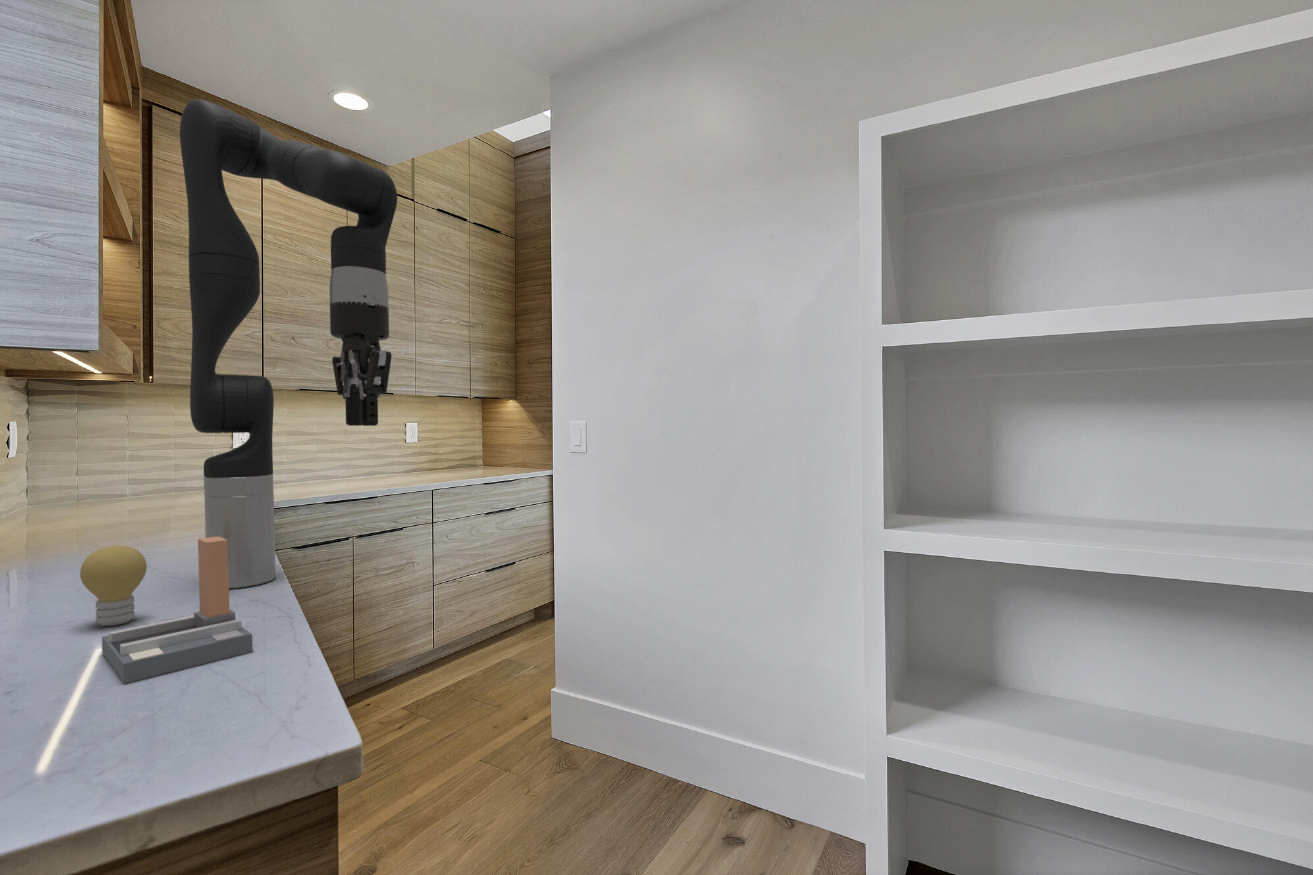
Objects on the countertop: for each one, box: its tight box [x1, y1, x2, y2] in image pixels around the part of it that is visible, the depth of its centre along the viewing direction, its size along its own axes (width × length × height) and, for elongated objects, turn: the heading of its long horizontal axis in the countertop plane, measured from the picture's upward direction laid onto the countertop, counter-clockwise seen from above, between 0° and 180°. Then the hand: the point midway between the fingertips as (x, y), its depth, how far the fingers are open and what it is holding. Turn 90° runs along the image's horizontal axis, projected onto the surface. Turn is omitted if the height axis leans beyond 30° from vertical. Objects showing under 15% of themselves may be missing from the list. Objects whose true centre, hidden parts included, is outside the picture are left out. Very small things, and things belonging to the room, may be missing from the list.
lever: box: [193, 536, 236, 628], centre depth 71 cm, size 4×3×10 cm
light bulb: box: [79, 545, 148, 627], centre depth 79 cm, size 6×6×10 cm
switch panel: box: [101, 614, 253, 685], centre depth 68 cm, size 12×11×3 cm
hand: (361, 424), depth 87 cm, fingers open, 4 cm apart
